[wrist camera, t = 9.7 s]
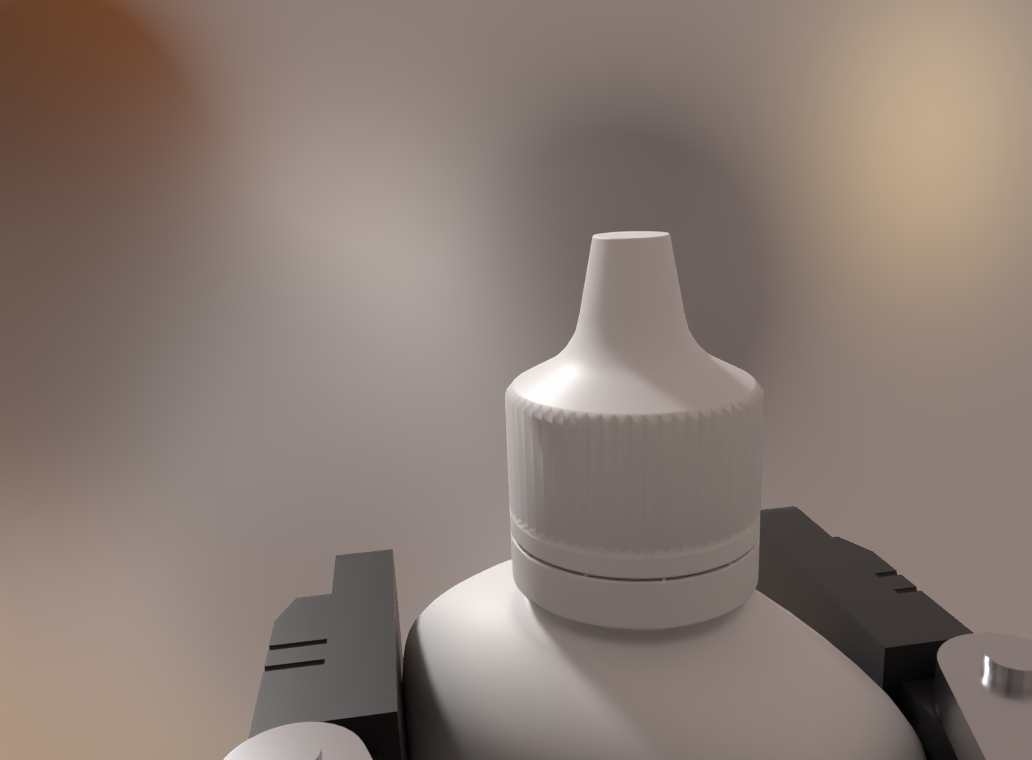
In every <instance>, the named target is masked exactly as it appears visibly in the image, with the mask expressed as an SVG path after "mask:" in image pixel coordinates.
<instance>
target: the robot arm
mask: <svg viewBox="0 0 1032 760" xmlns="http://www.w3.org/2000/svg"><path fill="white" fill-rule="evenodd" d="M756 590H757V591H759V592H761V593H762V594H764V595H765V596H766V597H768V598H769V599H771V600H772V601H774V602H775V603H777V604H778V605H780V606H781V607H783V608H784V609H786V610H787V611H789V612H790V613H792V614H793V615H794V616H796V617H797V618H798V619H800V620H801V621H803V622H804V623H805V624H807V625H808V626H809V627H811V628H812V629H813V630H815V631H816V632H817V633H819V634H820V635H821V636H823V637H824V638H825V639H826V640H827V641H829V642H830V643H831V644H832V645H833V646H835V647H836V648H837V649H838V650H839V651H841V652H842V653H843V654H844V655H845V656H847V657H848V658H849V659H850V660H851V661H852V662H854V663H855V664H856V665H857V666H858V667H859V668H860V669H861V670H862V671H863V672H865V673H866V674H867V675H868V676H869V677H870V678H871V679H872V680H873V681H874V682H875V683H876V684H877V685H878V686H879V687H880V688H881V689H882V690H883V691H884V692H885V693H886V694H887V695H888V696H889V697H890V698H891V699H892V701H893V702H894V703H895V705H896V706H897V707H898V708H899V710H900V711H901V712H902V714H903V715H904V716H905V718H906V719H907V721H908V722H909V723H910V725H911V726H912V727H913V729H914V731H915V733H916V734H917V736H918V738H919V739H920V741H921V743H922V746H923V749H924V752H925V755H926V758H927V760H1032V640H1029V639H1024V638H1021V637H1016V636H1011V635H1005V634H995V633H973V632H971V631H970V630H969V629H968V628H966V627H965V626H964V625H963V624H962V623H960V622H959V621H958V620H957V619H955V618H954V617H953V616H952V615H951V614H949V613H948V612H947V611H946V610H944V609H943V608H942V607H941V606H939V605H938V604H937V603H936V602H934V601H933V600H932V599H931V598H929V597H928V596H927V595H925V593H923V592H922V591H917V589H916V586H915V585H913V584H912V583H911V582H910V581H908V580H907V579H906V578H905V577H904V576H902V575H897V572H896V570H895V569H893V568H892V567H891V566H890V565H889V564H887V563H886V562H885V561H884V560H882V559H881V558H880V557H879V556H878V555H876V554H875V553H874V552H872V551H870V550H868V549H865V548H863V547H861V546H858V545H856V544H854V543H851V542H849V541H847V540H844V539H842V538H840V537H831V536H830V535H829V534H828V533H826V532H825V531H824V530H823V529H822V528H821V527H819V526H818V525H817V524H816V523H815V522H814V521H812V520H811V519H810V518H809V517H808V516H806V515H805V514H804V513H803V512H802V511H801V510H799V509H798V508H796V507H793V506H792V507H784V508H775V509H765V510H760V540H759V572H758V583H757V586H756ZM269 647H270V649H269V651H268V654H267V658H266V663H265V672H263V676H262V681H261V685H260V690H259V694H258V698H257V703H256V708H255V712H254V717H253V721H252V725H251V730H250V734H249V739H248V740H247V741H245V742H243V743H242V744H240V745H239V746H238V747H236V748H235V749H234V750H233V751H231V752H230V753H229V754H228V755H227V756H226V758H224V759H223V760H409V758H408V746H407V735H406V724H405V712H404V701H403V689H402V675H403V655H402V644H401V633H400V623H399V612H398V601H397V590H396V579H395V569H394V559H393V550H382V551H374V552H365V553H355V554H346V555H338V556H336V560H335V571H334V579H333V588H332V594H327V595H318V596H310V597H302V598H296V599H295V600H294V601H293V602H292V603H291V604H290V605H289V606H288V608H287V609H286V610H285V611H284V612H283V613H282V614H281V615H280V616H279V617H278V618H277V619H276V620H275V622H274V627H273V631H272V636H271V640H270V645H269Z"/></svg>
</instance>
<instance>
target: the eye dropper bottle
mask: <svg viewBox="0 0 1032 760" xmlns="http://www.w3.org/2000/svg"><path fill="white" fill-rule="evenodd" d="M505 408H506V430H507V455H508V477H509V500H510V524H511V546H512V547H511V548H512V560H509V561H506V562H504V563H501V564H498V565H496V566H494V567H491V568H489V569H487V570H485V571H483V572H481V573H479V574H477V575H474V576H472V577H470V578H468V579H467V580H465V581H463V582H461V583H459V584H457V585H456V586H454V587H453V588H451V589H450V590H448V591H447V592H445V593H443V594H442V595H441V596H440V597H438V598H437V599H436V600H434V601H433V602H432V603H431V604H430V605H429V606H428V607H427V608H426V609H425V610H424V611H423V613H422V614H421V615H420V616H419V617H418V618H417V619H416V620H415V622H414V624H413V626H412V627H411V629H410V631H409V634H408V637H407V641H406V644H405V651H404V658H403V675H402V689H403V701H404V712H405V724H406V735H407V746H408V758H409V760H927V758H926V755H925V752H924V749H923V746H922V743H921V741H920V739H919V738H918V736H917V734H916V733H915V731H914V729H913V727H912V726H911V725H910V723H909V722H908V721H907V719H906V718H905V716H904V715H903V714H902V712H901V711H900V710H899V708H898V707H897V706H896V705H895V703H894V702H893V701H892V699H891V698H890V697H889V696H888V695H887V694H886V693H885V692H884V691H883V690H882V689H881V688H880V687H879V686H878V685H877V684H876V683H875V682H874V681H873V680H872V679H871V678H870V677H869V676H868V675H867V674H866V673H865V672H863V671H862V670H861V669H860V668H859V667H858V666H857V665H856V664H855V663H854V662H852V661H851V660H850V659H849V658H848V657H847V656H845V655H844V654H843V653H842V652H841V651H839V650H838V649H837V648H836V647H835V646H833V645H832V644H831V643H830V642H829V641H827V640H826V639H825V638H824V637H823V636H821V635H820V634H819V633H817V632H816V631H815V630H813V629H812V628H811V627H809V626H808V625H807V624H805V623H804V622H803V621H801V620H800V619H798V618H797V617H796V616H794V615H793V614H792V613H790V612H789V611H787V610H786V609H784V608H783V607H781V606H780V605H778V604H777V603H775V602H774V601H772V600H771V599H769V598H768V597H766V596H765V595H764V594H762V593H761V592H759V591H757V590H756V586H757V583H758V572H759V540H760V508H761V476H762V475H761V474H762V443H763V412H764V411H763V410H764V409H763V408H764V391H763V389H762V387H761V386H760V385H759V383H758V382H757V381H756V380H755V379H754V378H753V377H752V376H751V375H750V374H748V373H747V372H745V371H743V370H742V369H739V368H737V367H735V366H733V365H731V364H728V363H726V362H724V361H722V360H719V359H718V358H715V357H713V356H711V355H709V354H707V353H706V352H705V351H704V350H703V349H702V348H701V347H700V346H699V345H698V344H697V343H696V341H695V339H694V338H693V336H692V335H691V333H690V332H689V329H688V325H687V321H686V318H685V313H684V309H683V303H682V298H681V292H680V287H679V282H678V276H677V271H676V266H675V261H674V255H673V249H672V244H671V239H670V234H669V233H666V232H654V231H630V232H612V233H602V234H596V235H593V238H592V244H591V250H590V256H589V262H588V267H587V274H586V279H585V285H584V291H583V297H582V303H581V309H580V314H579V319H578V323H577V328H576V332H575V334H574V335H573V337H572V338H571V340H570V342H569V343H568V345H567V347H566V348H565V349H564V350H563V351H562V352H560V353H559V354H558V355H557V356H556V357H553V358H552V359H549V360H547V361H545V362H543V363H541V364H539V365H537V366H535V367H533V368H531V369H529V370H527V371H525V372H523V373H522V374H520V375H519V376H518V377H517V378H515V380H514V381H513V382H512V383H511V384H510V386H509V387H508V389H507V390H506V394H505Z"/></svg>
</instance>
